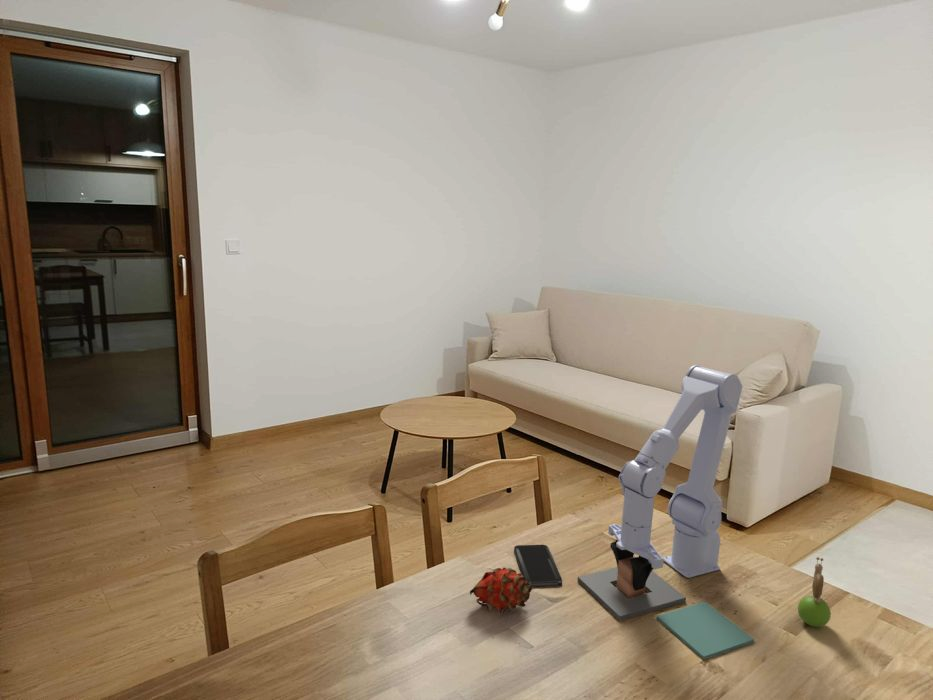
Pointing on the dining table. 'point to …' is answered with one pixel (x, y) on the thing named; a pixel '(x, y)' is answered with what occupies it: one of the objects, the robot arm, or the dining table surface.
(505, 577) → the dragon fruit
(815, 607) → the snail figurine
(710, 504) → the robot arm
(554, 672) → the dining table surface
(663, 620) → the teal mat
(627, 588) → the terracotta block
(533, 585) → the phone
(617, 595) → the charcoal pocket board
